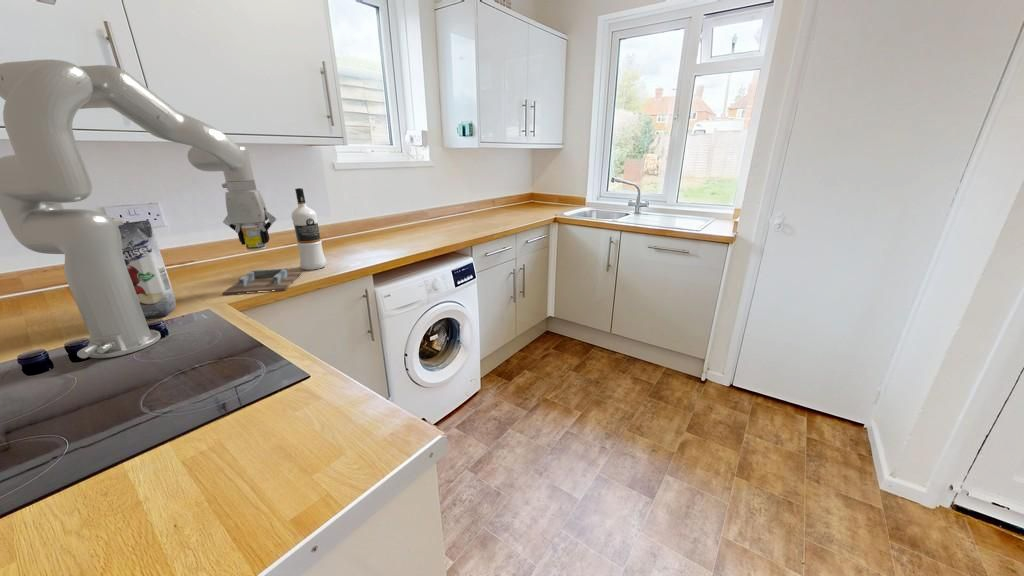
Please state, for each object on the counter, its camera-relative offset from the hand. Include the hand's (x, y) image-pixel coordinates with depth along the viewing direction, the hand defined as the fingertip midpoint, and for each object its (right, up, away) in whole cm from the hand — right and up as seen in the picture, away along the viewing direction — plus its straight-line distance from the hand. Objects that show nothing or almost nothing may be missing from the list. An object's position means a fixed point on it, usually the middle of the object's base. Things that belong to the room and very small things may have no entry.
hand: (255, 242), depth 128 cm
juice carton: (-16, -23, -19) cm, 34 cm away
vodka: (+7, -7, +24) cm, 26 cm away
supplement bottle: (0, -2, +1) cm, 2 cm away
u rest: (0, -14, +5) cm, 14 cm away
